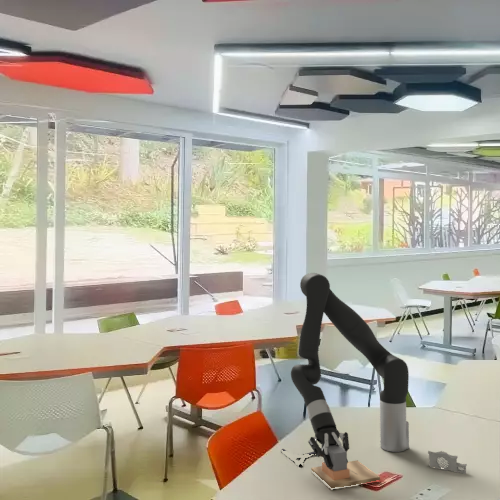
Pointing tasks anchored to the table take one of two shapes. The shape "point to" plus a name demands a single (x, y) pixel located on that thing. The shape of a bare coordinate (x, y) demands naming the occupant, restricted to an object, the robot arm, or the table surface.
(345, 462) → the block
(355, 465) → the oak board
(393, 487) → the table surface
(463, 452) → the table surface
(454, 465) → the garden wall model
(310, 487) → the table surface
